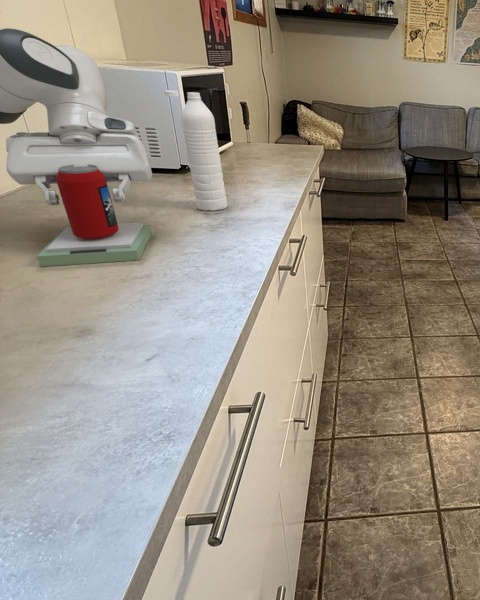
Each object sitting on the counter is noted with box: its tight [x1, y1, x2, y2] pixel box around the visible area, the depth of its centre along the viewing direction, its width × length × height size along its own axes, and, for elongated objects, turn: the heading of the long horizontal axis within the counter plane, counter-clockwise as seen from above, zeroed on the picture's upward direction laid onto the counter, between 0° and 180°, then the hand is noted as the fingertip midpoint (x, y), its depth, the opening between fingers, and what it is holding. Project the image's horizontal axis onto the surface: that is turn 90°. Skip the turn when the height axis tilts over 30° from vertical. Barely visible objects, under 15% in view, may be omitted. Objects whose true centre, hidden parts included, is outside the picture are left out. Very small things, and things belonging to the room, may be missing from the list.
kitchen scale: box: [36, 222, 153, 268], centre depth 85 cm, size 14×14×2 cm
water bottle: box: [164, 89, 228, 212], centre depth 105 cm, size 9×6×25 cm
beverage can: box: [56, 164, 119, 240], centre depth 82 cm, size 7×7×12 cm
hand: (86, 201), depth 81 cm, fingers open, 8 cm apart
